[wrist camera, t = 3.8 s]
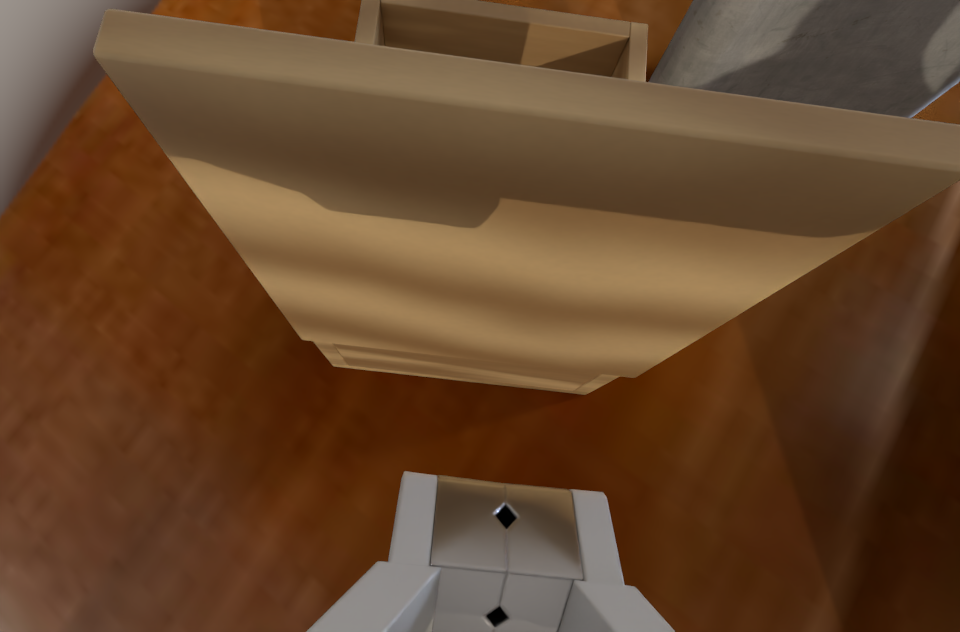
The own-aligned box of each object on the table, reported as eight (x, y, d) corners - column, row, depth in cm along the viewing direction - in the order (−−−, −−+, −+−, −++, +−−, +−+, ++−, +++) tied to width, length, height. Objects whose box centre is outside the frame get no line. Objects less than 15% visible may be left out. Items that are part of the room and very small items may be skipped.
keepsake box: (377, 85, 37) (364, -17, 29) (603, 116, 37) (648, 23, 30) (332, 366, 33) (305, 332, 25) (586, 395, 34) (632, 370, 26)
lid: (103, 4, 9) (89, 53, 9) (971, 123, 10) (977, 172, 10) (304, 319, 25) (300, 340, 25) (636, 358, 26) (635, 378, 25)
